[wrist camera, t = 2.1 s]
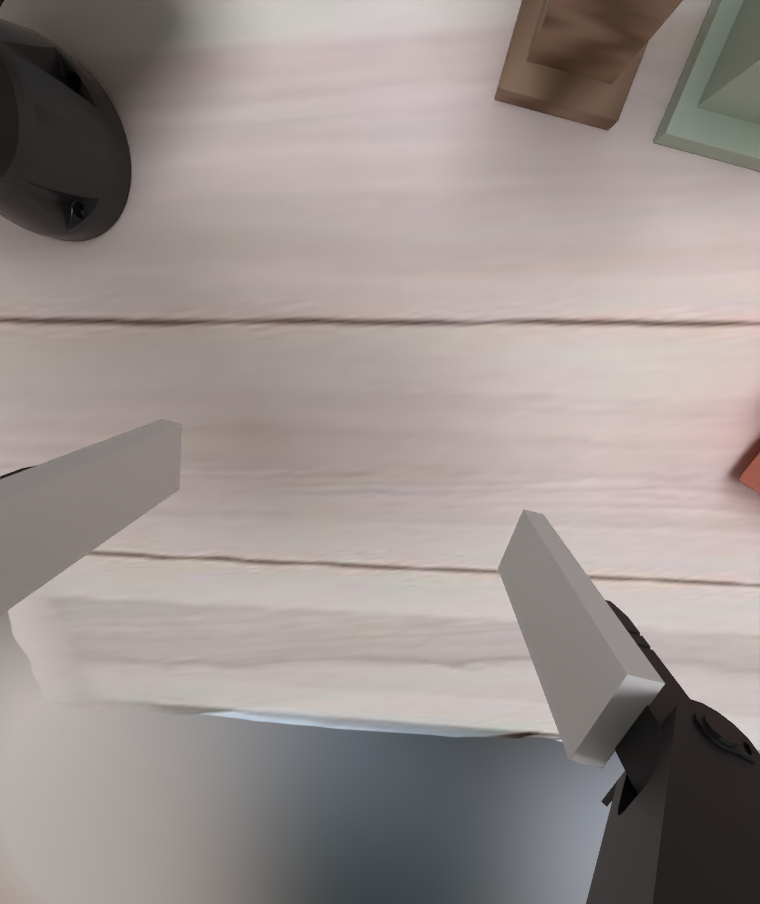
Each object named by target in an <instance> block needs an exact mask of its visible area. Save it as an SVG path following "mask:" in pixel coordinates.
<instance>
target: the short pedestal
mask: <svg viewBox="0 0 760 904" xmlns="http://www.w3.org/2000/svg"><path fill="white" fill-rule="evenodd" d="M653 143H657V144H661V145H664V146H668V147H672V148H675V149H679V150H683V151H687V152H690V153H694V154H698V155H701V156H705V157H709V158H712V159H716V160H720V161H723V162H727V163H731V164H734V165H738V166H742V167H745V168H749V169H753V170H756V171H760V0H712V3H711V5H710V8H709V10H708V12H707V15H706V17H705V20H704V22H703V24H702V27H701V29H700V32H699V34H698V36H697V39H696V41H695V44H694V46H693V48H692V51H691V53H690V55H689V58H688V60H687V63H686V65H685V67H684V70H683V72H682V75H681V77H680V79H679V82H678V84H677V87H676V89H675V91H674V94H673V96H672V99H671V101H670V103H669V106H668V108H667V110H666V113H665V115H664V118H663V120H662V122H661V125H660V127H659V130H658V132H657V134H656V137H655V139H654V142H653Z"/></svg>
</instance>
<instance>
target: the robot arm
mask: <svg viewBox="0 0 760 904" xmlns="http://www.w3.org/2000/svg"><path fill="white" fill-rule="evenodd" d="M3 2H4V0H0V6H1V5H2V3H3ZM129 183H130V159H129V151H128V146H127V141H126V137H125V134H124V130H123V127H122V125H121V122H120V119H119V117H118V115H117V113H116V110H115V108H114V107H113V105H112V103H111V101H110V99H109V98H108V96H107V94H106V93H105V91H104V90H103V89H102V87H101V86H100V85H99V83H98V82H97V81H96V80H95V78H94V77H93V76H92V75H91V74H90V73H89V72H88V71H87V70H86V69H85V68H84V67H83V66H82V65H81V64H79V63H78V62H77V61H76V60H74V59H73V58H72V57H71V56H69V55H68V54H67V53H66V52H64V51H63V50H62V49H61V48H59V47H58V46H57V45H55V44H54V43H53V42H51V41H50V40H48V39H46V38H45V37H43V36H41V35H40V34H38V33H36V32H34V31H32V30H30V29H27V28H25V27H22V26H20V25H17V24H15V23H12V22H9V21H7V20H4V19H1V18H0V215H1V216H3V217H5V218H6V219H8V220H10V221H12V222H13V223H15V224H17V225H19V226H21V227H23V228H25V229H27V230H30V231H32V232H35V233H38V234H41V235H45V236H49V237H53V238H57V239H61V240H67V241H81V240H87V239H90V238H93V237H96V236H98V235H100V234H101V233H103V232H104V231H106V230H107V229H108V228H109V227H110V226H111V225H112V224H113V223H114V222H115V221H116V219H117V218H118V216H119V215H120V213H121V211H122V209H123V207H124V204H125V201H126V198H127V194H128V190H129ZM181 426H182V424H178V423H174V422H170V421H166V420H162V419H161V420H158V421H156V422H153V423H150V424H148V425H145V426H142V427H140V428H137V429H134V430H132V431H129V432H126V433H123V434H121V435H118V436H115V437H113V438H110V439H107V440H105V441H102V442H99V443H97V444H94V445H91V446H89V447H86V448H83V449H80V450H78V451H75V452H72V453H70V454H67V455H64V456H62V457H59V458H56V459H54V460H51V461H48V462H46V463H43V464H40V465H37V466H32V467H27V468H22V469H19V470H17V471H14V472H11V473H8V474H6V475H3V476H0V615H2V614H3V613H4V612H6V611H7V610H9V609H10V608H11V607H13V606H14V605H16V604H17V603H19V602H20V601H21V600H23V599H24V598H26V597H27V596H28V595H30V594H31V593H33V592H34V591H36V590H37V589H38V588H40V587H41V586H43V585H44V584H45V583H47V582H48V581H50V580H51V579H53V578H54V577H55V576H57V575H58V574H60V573H61V572H63V571H64V570H65V569H67V568H68V567H70V566H71V565H72V564H74V563H75V562H77V561H78V560H80V559H81V558H82V557H84V556H85V555H87V554H88V553H89V552H91V551H92V550H94V549H95V548H97V547H98V546H99V545H101V544H102V543H104V542H105V541H106V540H108V539H109V538H111V537H112V536H114V535H115V534H116V533H118V532H119V531H121V530H122V529H123V528H125V527H126V526H128V525H129V524H131V523H132V522H133V521H135V520H136V519H138V518H139V517H140V516H142V515H143V514H145V513H146V512H148V511H149V510H150V509H152V508H153V507H155V506H156V505H158V504H159V503H160V502H162V501H163V500H165V499H166V498H167V497H169V496H170V495H172V494H173V493H175V492H176V491H177V490H179V479H180V453H181ZM498 569H499V572H500V575H501V577H502V580H503V583H504V586H505V588H506V591H507V594H508V596H509V599H510V602H511V604H512V607H513V610H514V612H515V615H516V618H517V621H518V623H519V626H520V629H521V631H522V634H523V637H524V639H525V642H526V645H527V648H528V650H529V653H530V656H531V658H532V661H533V664H534V666H535V669H536V672H537V675H538V677H539V680H540V683H541V685H542V688H543V691H544V693H545V696H546V699H547V701H548V704H549V707H550V710H551V712H552V715H553V718H554V720H555V723H556V726H557V728H558V731H559V734H560V737H561V739H562V742H563V745H564V747H565V750H566V753H567V755H568V758H569V760H571V761H575V762H579V763H583V764H587V765H591V766H595V767H599V768H603V767H604V766H605V764H606V763H607V761H608V760H609V759H610V757H611V756H612V755H613V753H614V752H615V751H616V753H617V755H618V757H619V759H620V761H621V763H622V765H623V767H624V769H625V772H624V773H623V774H622V776H621V777H620V778H619V779H618V780H617V782H616V783H615V784H614V786H613V787H612V788H611V789H610V791H609V792H608V793H607V795H606V796H605V797H604V799H603V800H602V802H603V803H604V804H605V805H606V806H608V805H609V803H610V802H611V801H612V804H611V808H610V812H609V816H608V820H607V824H606V828H605V832H604V836H603V840H602V844H601V847H600V851H599V855H598V859H597V863H596V867H595V871H594V875H593V879H592V883H591V887H590V891H589V894H588V898H587V902H586V904H760V754H759V752H758V751H757V750H756V748H755V747H754V746H753V744H752V743H751V742H750V740H749V739H748V738H747V737H746V736H745V735H744V734H743V733H742V732H741V731H740V730H739V729H738V728H737V727H736V726H735V725H734V724H733V723H732V722H730V721H729V720H728V719H726V718H725V717H724V716H722V715H721V714H720V713H718V712H717V711H715V710H713V709H712V708H710V707H708V706H706V705H705V704H703V703H700V702H697V701H694V700H691V699H690V698H689V697H688V696H687V694H686V693H685V692H684V690H683V689H682V688H681V686H680V685H679V684H678V683H677V681H676V680H675V679H674V677H673V676H672V675H671V673H670V672H669V671H668V669H667V668H666V667H665V665H664V664H663V663H662V661H661V660H660V659H659V657H658V656H657V655H656V653H655V652H654V651H653V650H650V646H649V644H648V643H647V642H646V640H645V639H644V638H643V636H640V632H639V631H638V630H637V628H636V627H635V626H634V624H633V623H632V622H631V620H630V619H629V618H628V617H627V616H626V615H625V614H624V613H623V612H622V611H621V610H620V609H619V608H617V607H616V606H615V605H614V604H613V603H612V602H611V601H607V600H605V599H604V598H603V597H602V595H601V594H600V592H599V591H598V590H597V588H596V587H595V585H594V584H593V583H592V581H591V580H590V579H589V577H588V576H587V574H586V573H585V572H584V570H583V569H582V567H581V566H580V565H579V563H578V562H577V560H576V559H575V558H574V556H573V555H572V553H571V552H570V551H569V549H568V548H567V547H566V545H565V544H564V542H563V541H562V540H561V538H560V537H559V535H558V534H557V533H556V531H555V530H554V528H553V527H552V526H551V524H550V523H549V522H548V520H547V519H546V517H545V516H544V515H543V514H540V513H536V512H532V511H528V510H524V509H523V512H522V514H521V516H520V519H519V521H518V523H517V526H516V528H515V530H514V532H513V535H512V537H511V539H510V542H509V544H508V546H507V549H506V551H505V553H504V556H503V558H502V560H501V563H500V565H499V567H498Z"/></svg>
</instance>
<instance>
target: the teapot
mask: <svg viewBox="0 0 760 904" xmlns="http://www.w3.org/2000/svg"><path fill="white" fill-rule="evenodd" d="M739 481H740V482H742V483H744V484H745V485H747V486H748V487H750V488H752V489H753V490H755V491H757V492H758V493H760V449H759V451H758V455H757V456H756V457H755V459H754V460H753V461H752V462H751V463H750V465H749V466H748V467H747V468H746V470H745V471H744V472H743V474H742V475H741V477H740V478H739Z"/></svg>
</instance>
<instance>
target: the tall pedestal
mask: <svg viewBox="0 0 760 904" xmlns="http://www.w3.org/2000/svg"><path fill="white" fill-rule="evenodd" d="M682 1H683V0H522V3H521V6H520V10H519V13H518V17H517V21H516V24H515V28H514V31H513V35H512V38H511V42H510V46H509V49H508V53H507V56H506V60H505V64H504V67H503V71H502V74H501V78H500V81H499V85H498V89H497V92H496V96H495V100H499V101H503V102H506V103H510V104H514V105H517V106H521V107H525V108H528V109H532V110H536V111H539V112H543V113H547V114H550V115H554V116H558V117H561V118H565V119H569V120H573V121H576V122H580V123H584V124H587V125H591V126H595V127H598V128H602V129H606V130H609V129H610V128H611V127H612V126H613V125H614V124H615V123H616V122H617V121H618V119H619V116H620V114H621V111H622V109H623V106H624V103H625V101H626V98H627V96H628V93H629V90H630V88H631V85H632V82H633V80H634V77H635V75H636V72H637V69H638V67H639V64H640V62H641V59H642V56H643V54H644V51H645V49H646V46H647V43H648V41H649V40H650V38H651V37H652V36H653V35H654V34H655V32H656V31H657V30H658V29H659V28H660V27H661V25H662V24H663V23H664V22H665V21H666V19H667V18H668V17H669V16H670V15H671V14H672V12H673V11H674V10H675V9H676V8H677V6H678V5H679V4H680V3H681V2H682Z"/></svg>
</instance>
